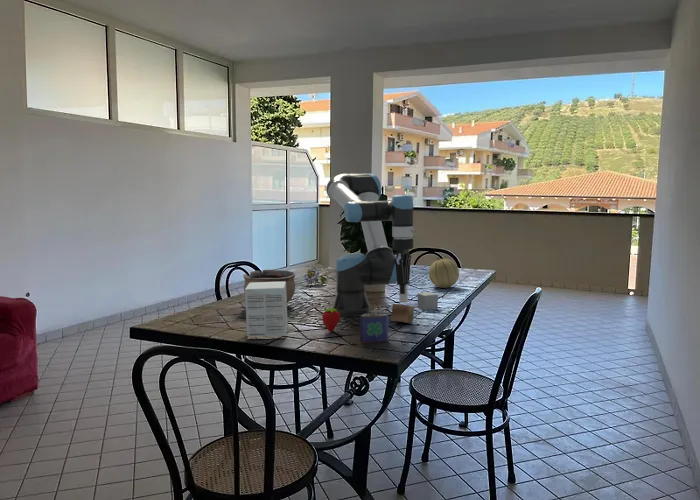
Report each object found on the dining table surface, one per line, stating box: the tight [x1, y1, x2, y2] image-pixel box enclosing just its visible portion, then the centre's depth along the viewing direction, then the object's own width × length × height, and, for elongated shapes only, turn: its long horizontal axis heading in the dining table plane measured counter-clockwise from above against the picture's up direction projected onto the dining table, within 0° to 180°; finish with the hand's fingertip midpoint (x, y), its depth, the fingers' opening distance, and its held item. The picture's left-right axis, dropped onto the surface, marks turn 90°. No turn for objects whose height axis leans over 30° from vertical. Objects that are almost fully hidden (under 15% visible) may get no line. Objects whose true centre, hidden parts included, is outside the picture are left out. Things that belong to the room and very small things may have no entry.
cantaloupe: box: [428, 257, 460, 289], centre depth 253 cm, size 15×15×15 cm
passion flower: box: [301, 266, 329, 285], centre depth 269 cm, size 11×11×12 cm
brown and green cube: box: [390, 303, 416, 324], centre depth 187 cm, size 6×6×6 cm
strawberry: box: [321, 303, 341, 333], centre depth 177 cm, size 6×8×10 cm
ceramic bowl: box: [242, 269, 297, 304], centre depth 217 cm, size 22×22×15 cm
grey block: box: [417, 291, 439, 311], centre depth 212 cm, size 6×6×6 cm
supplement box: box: [244, 281, 289, 337], centre depth 176 cm, size 13×13×18 cm
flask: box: [359, 309, 390, 344], centre depth 165 cm, size 9×3×11 cm, turn 95°
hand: (403, 301), depth 188 cm, fingers closed
